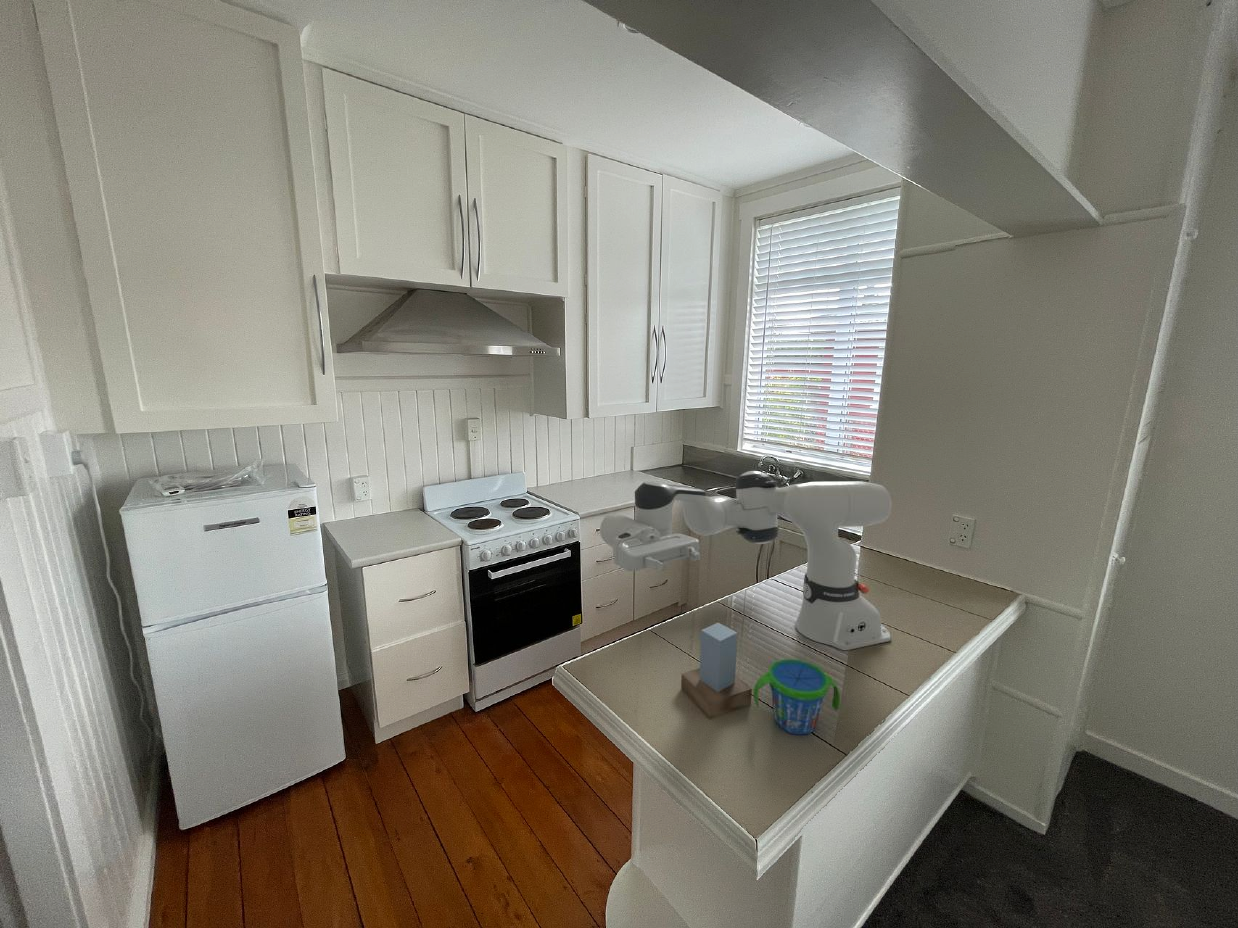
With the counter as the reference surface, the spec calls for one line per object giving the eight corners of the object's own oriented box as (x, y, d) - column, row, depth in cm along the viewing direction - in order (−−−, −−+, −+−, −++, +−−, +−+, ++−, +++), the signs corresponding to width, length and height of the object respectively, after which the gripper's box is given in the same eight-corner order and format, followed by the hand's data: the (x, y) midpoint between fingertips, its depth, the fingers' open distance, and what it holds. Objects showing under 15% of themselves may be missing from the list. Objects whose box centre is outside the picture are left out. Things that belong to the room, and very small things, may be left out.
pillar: (716, 670, 106) (718, 622, 103) (734, 682, 102) (737, 632, 100) (699, 679, 103) (701, 630, 100) (718, 692, 99) (720, 640, 97)
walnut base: (720, 678, 110) (721, 661, 109) (750, 706, 101) (751, 688, 100) (681, 690, 105) (681, 673, 105) (709, 721, 97) (710, 702, 96)
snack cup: (755, 737, 92) (758, 687, 90) (748, 700, 102) (752, 654, 100) (845, 748, 90) (851, 697, 88) (830, 708, 100) (834, 662, 98)
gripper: (677, 548, 127) (715, 566, 116) (607, 565, 116) (643, 586, 105) (677, 524, 126) (716, 539, 114) (607, 538, 115) (643, 557, 103)
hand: (681, 562), depth 109 cm, fingers open, 8 cm apart
